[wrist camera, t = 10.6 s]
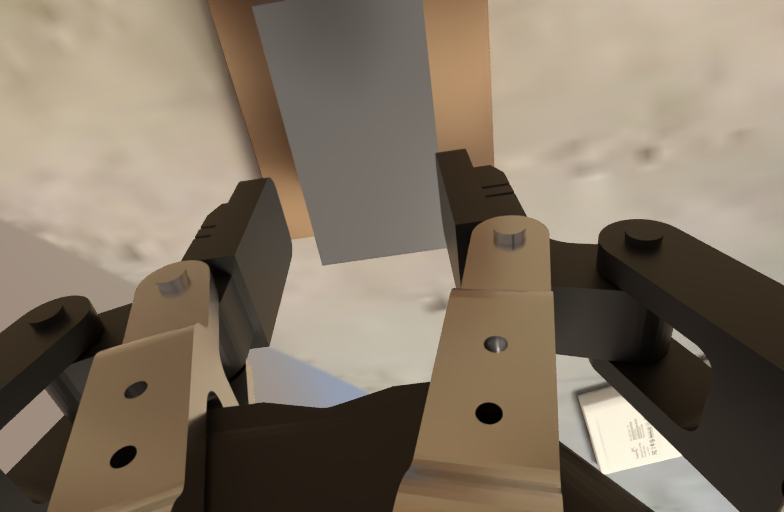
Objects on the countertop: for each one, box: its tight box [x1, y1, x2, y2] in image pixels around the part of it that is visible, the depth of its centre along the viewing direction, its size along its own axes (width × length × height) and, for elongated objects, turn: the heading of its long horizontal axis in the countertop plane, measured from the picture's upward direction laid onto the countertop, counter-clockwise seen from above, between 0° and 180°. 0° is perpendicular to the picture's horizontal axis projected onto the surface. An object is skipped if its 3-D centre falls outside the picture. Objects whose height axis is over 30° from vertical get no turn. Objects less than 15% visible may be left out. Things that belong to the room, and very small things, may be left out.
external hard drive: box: [578, 359, 711, 475], centre depth 34 cm, size 2×8×12 cm
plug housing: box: [252, 0, 447, 265], centre depth 18 cm, size 9×5×5 cm, turn 9°
